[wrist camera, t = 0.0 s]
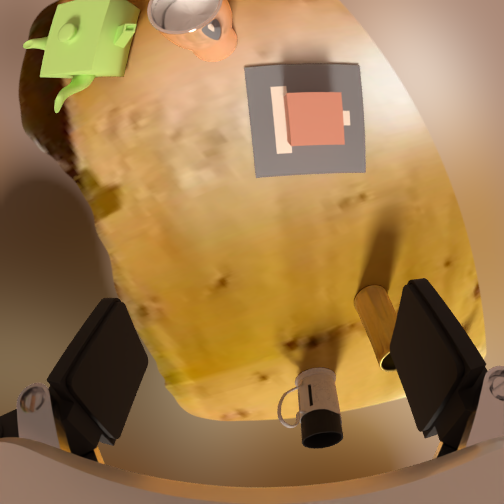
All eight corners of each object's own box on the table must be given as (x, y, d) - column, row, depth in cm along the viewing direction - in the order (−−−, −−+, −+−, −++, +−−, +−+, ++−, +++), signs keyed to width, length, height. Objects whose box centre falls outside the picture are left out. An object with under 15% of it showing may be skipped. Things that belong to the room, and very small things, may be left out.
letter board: (244, 68, 31) (244, 67, 31) (358, 65, 30) (359, 65, 29) (256, 177, 38) (256, 177, 37) (364, 171, 36) (365, 172, 36)
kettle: (97, 110, 34) (49, 115, 24) (58, 56, 29) (12, 51, 19) (173, 40, 29) (140, 17, 19) (125, -11, 25) (88, -36, 14)
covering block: (283, 97, 32) (286, 93, 27) (329, 95, 32) (341, 92, 26) (287, 141, 35) (291, 146, 30) (332, 140, 34) (344, 144, 29)
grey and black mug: (317, 395, 58) (323, 452, 45) (265, 376, 55) (263, 438, 42) (344, 375, 55) (356, 434, 41) (291, 352, 52) (295, 419, 38)
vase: (386, 309, 46) (413, 367, 34) (354, 316, 47) (374, 378, 35) (387, 281, 44) (420, 338, 31) (353, 288, 45) (378, 350, 32)
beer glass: (224, 12, 27) (201, -39, 14) (250, 49, 30) (240, 9, 16) (179, 37, 29) (132, 1, 16) (203, 74, 32) (166, 51, 18)
